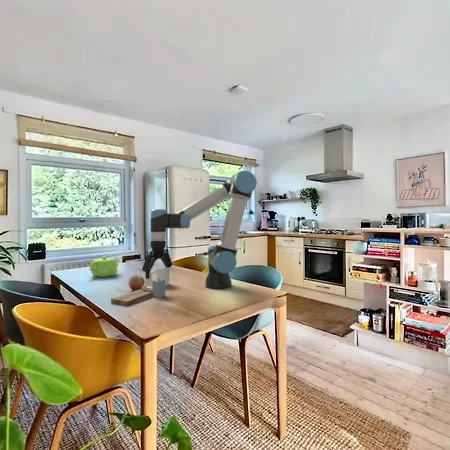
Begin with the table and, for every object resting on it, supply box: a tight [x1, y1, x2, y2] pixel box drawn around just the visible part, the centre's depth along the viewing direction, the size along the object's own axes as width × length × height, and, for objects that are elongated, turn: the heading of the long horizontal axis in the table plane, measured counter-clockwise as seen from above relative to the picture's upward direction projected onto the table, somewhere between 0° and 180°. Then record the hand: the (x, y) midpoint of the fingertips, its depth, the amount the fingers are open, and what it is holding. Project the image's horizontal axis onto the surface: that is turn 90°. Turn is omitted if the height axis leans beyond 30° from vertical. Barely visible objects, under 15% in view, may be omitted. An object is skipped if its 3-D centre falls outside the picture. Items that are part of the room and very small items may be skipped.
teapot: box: [89, 256, 119, 278], centre depth 195 cm, size 18×20×13 cm
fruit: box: [128, 274, 146, 291], centre depth 158 cm, size 8×8×8 cm
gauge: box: [142, 278, 166, 298], centre depth 148 cm, size 12×5×9 cm, turn 63°
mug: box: [150, 265, 171, 287], centre depth 169 cm, size 12×8×10 cm
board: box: [110, 289, 153, 307], centre depth 143 cm, size 10×22×2 cm, turn 153°
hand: (157, 282), depth 146 cm, fingers open, 13 cm apart
